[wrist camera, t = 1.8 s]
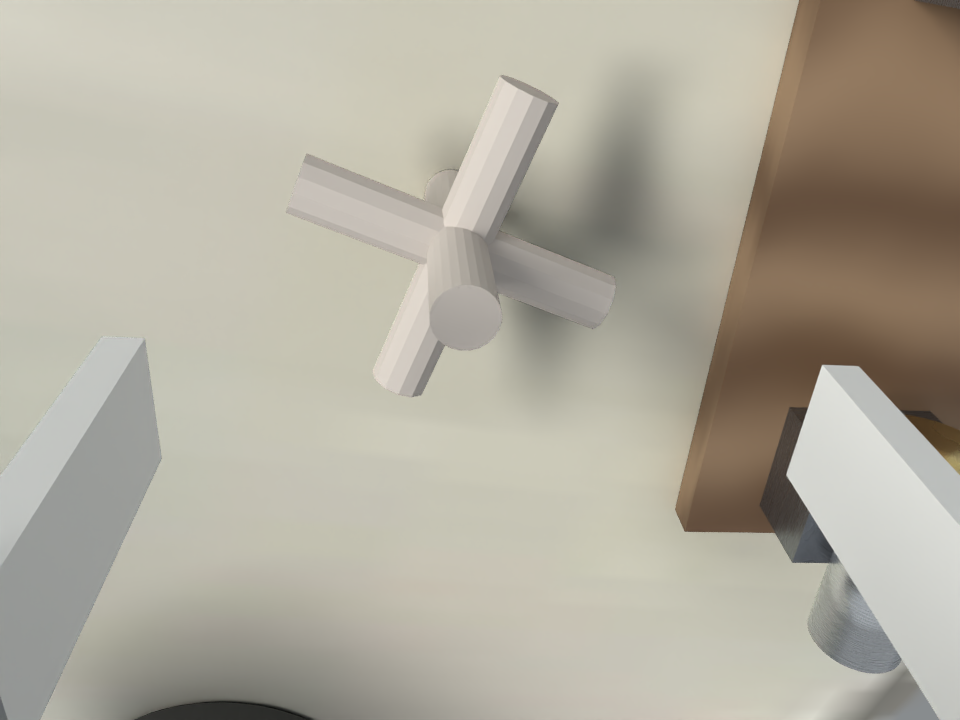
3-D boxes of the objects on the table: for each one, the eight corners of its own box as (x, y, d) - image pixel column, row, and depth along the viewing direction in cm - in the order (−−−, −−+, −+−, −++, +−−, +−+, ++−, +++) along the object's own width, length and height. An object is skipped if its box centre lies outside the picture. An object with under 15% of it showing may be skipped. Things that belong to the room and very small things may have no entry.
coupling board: (925, 513, 38) (943, 535, 37) (675, 509, 37) (685, 531, 35) (1240, -216, 25) (1287, -224, 23) (862, -260, 23) (889, -270, 22)
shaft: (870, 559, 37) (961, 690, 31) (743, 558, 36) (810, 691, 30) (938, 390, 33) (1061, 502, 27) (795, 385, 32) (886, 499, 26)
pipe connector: (639, 118, 28) (740, 214, 19) (517, 354, 32) (555, 519, 24) (365, -8, 26) (340, 36, 17) (271, 266, 30) (212, 414, 21)
